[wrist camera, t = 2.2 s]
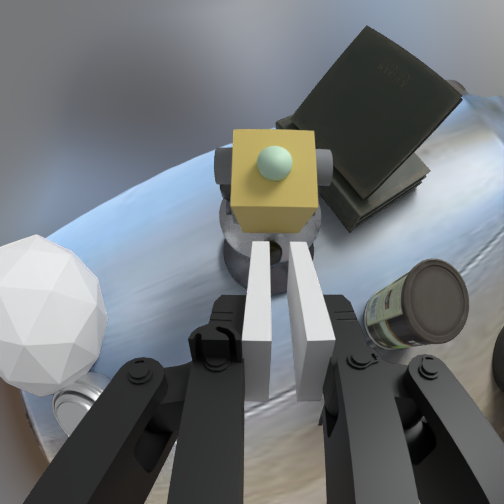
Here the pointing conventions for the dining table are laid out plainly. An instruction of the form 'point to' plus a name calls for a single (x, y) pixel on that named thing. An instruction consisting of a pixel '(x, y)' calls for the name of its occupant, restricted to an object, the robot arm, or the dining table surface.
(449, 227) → the dining table surface
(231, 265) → the stand
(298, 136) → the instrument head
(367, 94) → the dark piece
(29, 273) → the lamp
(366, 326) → the coffee can
